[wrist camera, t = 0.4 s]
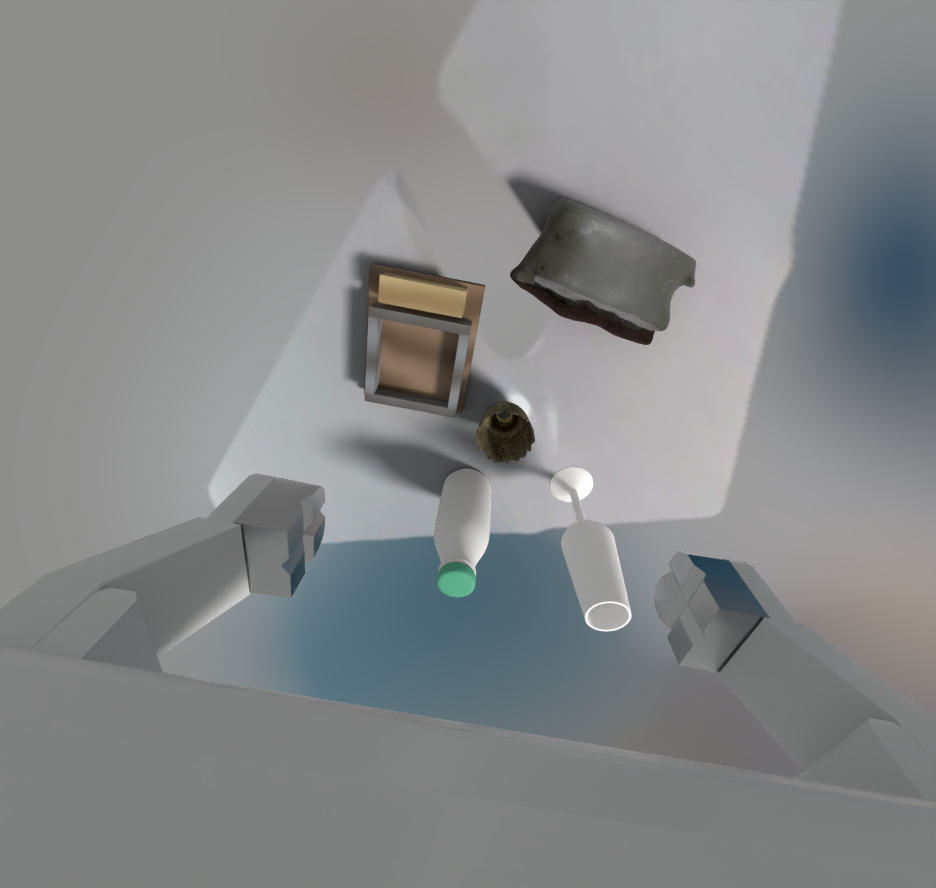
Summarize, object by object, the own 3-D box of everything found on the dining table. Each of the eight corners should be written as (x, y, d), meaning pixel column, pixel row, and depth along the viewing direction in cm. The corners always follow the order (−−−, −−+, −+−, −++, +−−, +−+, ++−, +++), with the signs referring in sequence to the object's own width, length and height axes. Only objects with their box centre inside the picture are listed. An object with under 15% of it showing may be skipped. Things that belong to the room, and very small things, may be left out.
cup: (468, 408, 57) (463, 434, 50) (509, 378, 55) (511, 401, 48) (499, 444, 60) (499, 473, 53) (540, 417, 57) (545, 444, 50)
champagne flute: (601, 476, 61) (654, 607, 40) (579, 507, 64) (618, 643, 43) (562, 460, 60) (596, 586, 39) (542, 493, 64) (563, 625, 43)
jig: (373, 263, 49) (362, 266, 45) (485, 285, 49) (484, 290, 45) (367, 390, 57) (357, 403, 53) (462, 408, 57) (460, 422, 53)
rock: (502, 288, 49) (503, 299, 42) (541, 186, 44) (549, 180, 37) (634, 341, 51) (656, 359, 44) (687, 250, 46) (720, 254, 39)
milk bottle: (438, 471, 63) (414, 566, 45) (485, 463, 62) (480, 557, 44) (450, 509, 66) (433, 610, 49) (495, 502, 65) (494, 604, 48)
